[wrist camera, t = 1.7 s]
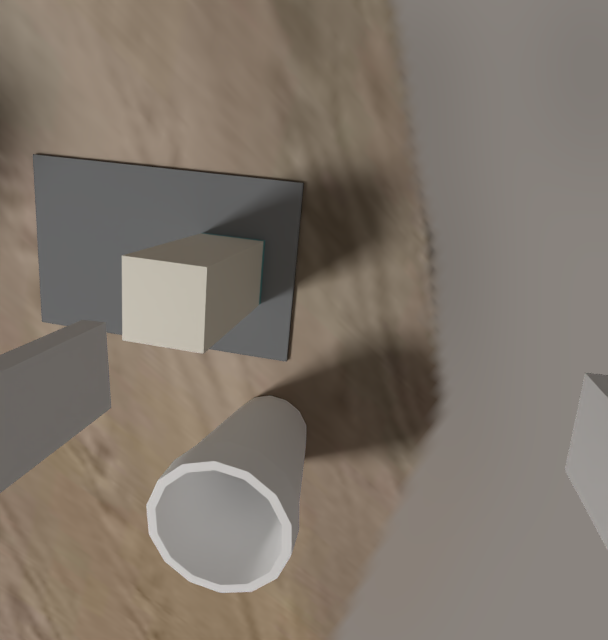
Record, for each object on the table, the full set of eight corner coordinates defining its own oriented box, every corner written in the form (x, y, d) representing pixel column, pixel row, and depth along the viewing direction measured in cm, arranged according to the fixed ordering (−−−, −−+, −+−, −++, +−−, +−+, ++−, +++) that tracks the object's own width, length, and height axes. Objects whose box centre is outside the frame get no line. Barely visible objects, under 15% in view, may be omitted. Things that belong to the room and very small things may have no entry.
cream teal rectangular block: (200, 294, 41) (122, 340, 30) (203, 232, 40) (121, 255, 28) (260, 303, 40) (203, 353, 29) (265, 240, 39) (207, 267, 28)
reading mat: (44, 320, 45) (41, 321, 45) (35, 154, 41) (32, 154, 41) (287, 360, 42) (286, 361, 41) (303, 183, 38) (302, 183, 37)
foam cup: (209, 458, 46) (136, 563, 33) (228, 365, 43) (156, 442, 30) (311, 491, 44) (275, 612, 32) (337, 398, 42) (309, 491, 29)
